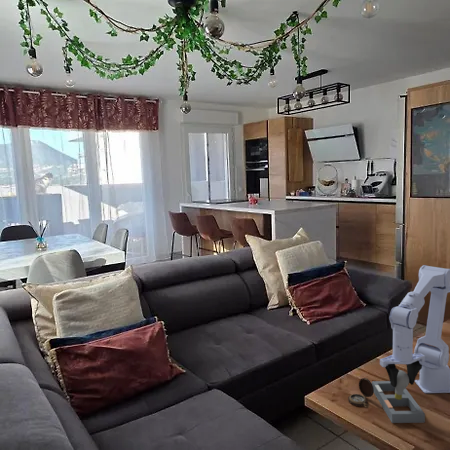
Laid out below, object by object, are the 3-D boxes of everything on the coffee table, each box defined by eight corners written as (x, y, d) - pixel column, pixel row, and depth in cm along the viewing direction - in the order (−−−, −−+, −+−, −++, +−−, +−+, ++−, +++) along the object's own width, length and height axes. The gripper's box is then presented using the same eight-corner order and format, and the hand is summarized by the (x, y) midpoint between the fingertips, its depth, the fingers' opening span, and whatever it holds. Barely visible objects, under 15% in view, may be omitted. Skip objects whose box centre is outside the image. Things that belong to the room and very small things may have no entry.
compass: (344, 399, 134) (344, 380, 133) (361, 393, 137) (361, 374, 136) (361, 412, 126) (361, 391, 125) (379, 405, 130) (379, 385, 129)
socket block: (399, 388, 138) (400, 380, 138) (424, 422, 120) (424, 412, 119) (371, 389, 139) (371, 380, 139) (391, 422, 120) (392, 413, 120)
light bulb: (410, 404, 123) (413, 375, 121) (393, 404, 123) (396, 375, 121) (402, 394, 128) (404, 366, 127) (386, 394, 128) (388, 366, 127)
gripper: (415, 336, 127) (414, 375, 129) (374, 341, 125) (374, 380, 126) (429, 345, 120) (428, 386, 122) (387, 351, 118) (386, 392, 119)
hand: (402, 384), depth 124 cm, fingers closed on light bulb, 5 cm apart
